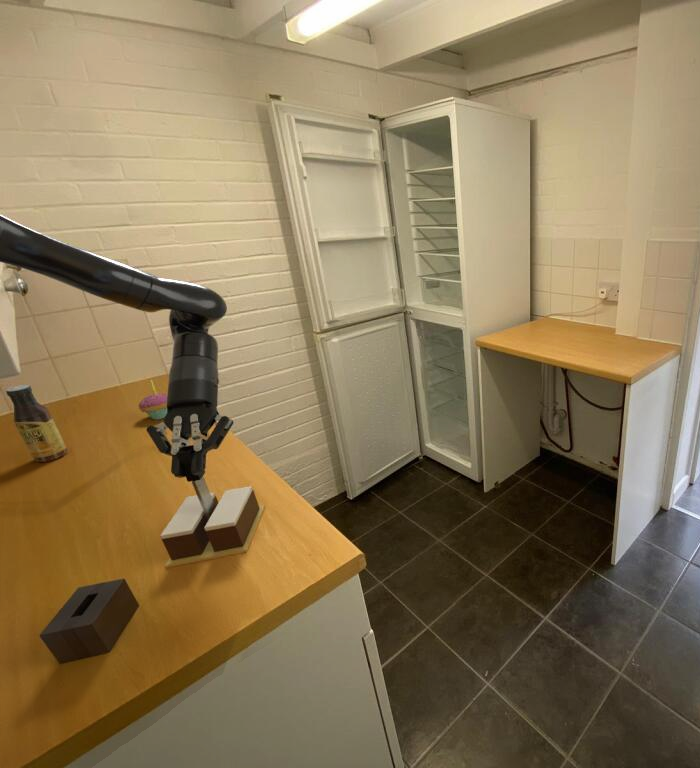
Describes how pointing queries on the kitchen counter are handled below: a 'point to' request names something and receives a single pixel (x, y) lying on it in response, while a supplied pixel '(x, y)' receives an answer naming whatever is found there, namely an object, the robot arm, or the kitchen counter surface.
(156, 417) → the cupcake
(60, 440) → the sauce bottle
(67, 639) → the knife block
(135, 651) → the kitchen counter surface
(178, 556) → the cake
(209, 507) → the knife
